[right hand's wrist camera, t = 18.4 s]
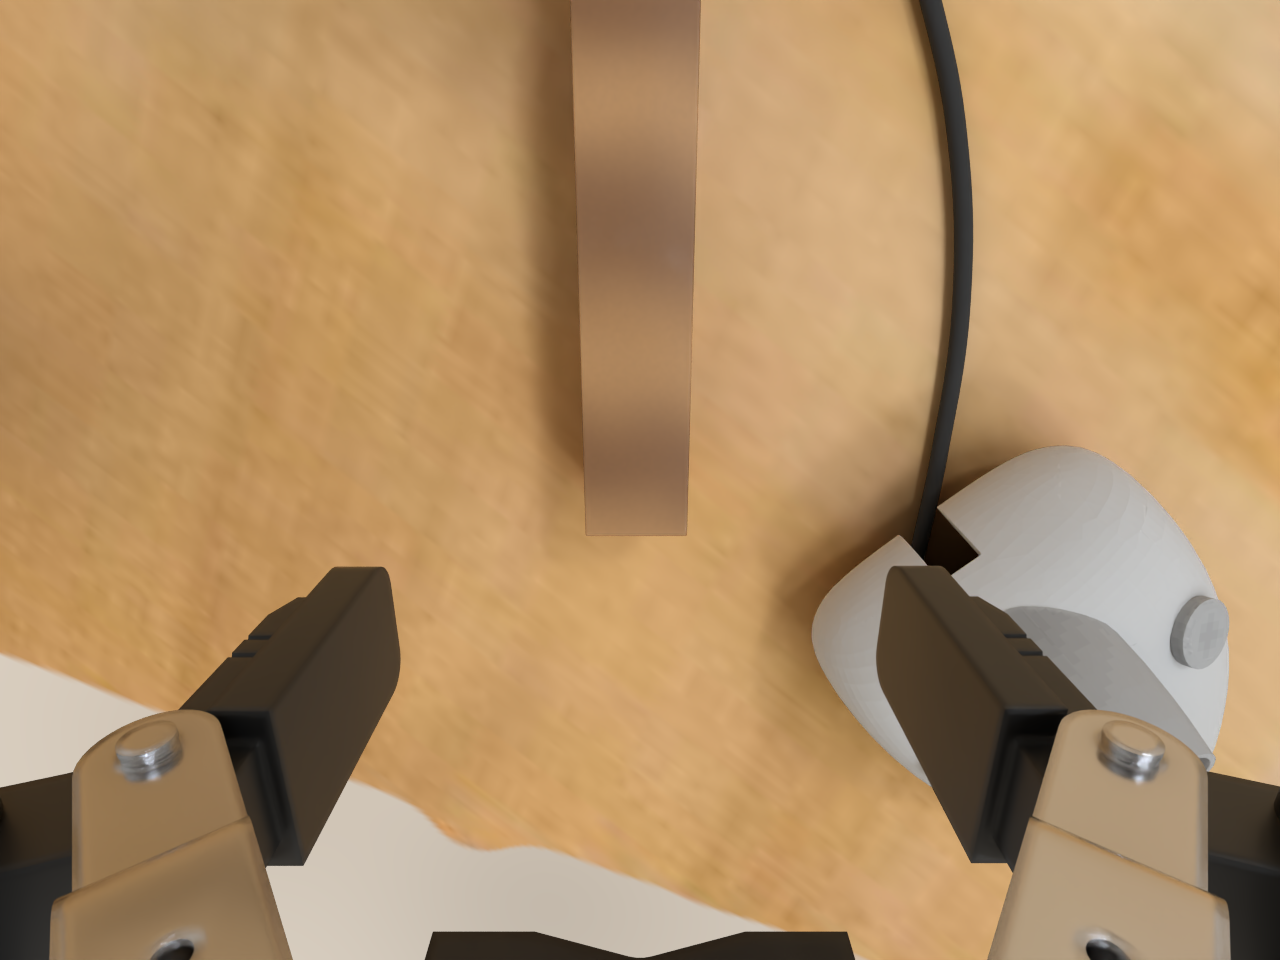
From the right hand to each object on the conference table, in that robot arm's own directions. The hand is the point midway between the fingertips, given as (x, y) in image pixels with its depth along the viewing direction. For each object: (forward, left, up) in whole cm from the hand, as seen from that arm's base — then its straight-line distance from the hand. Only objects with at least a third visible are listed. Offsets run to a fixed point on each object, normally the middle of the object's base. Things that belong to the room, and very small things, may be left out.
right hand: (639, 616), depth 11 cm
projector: (-15, -21, -23) cm, 35 cm away
